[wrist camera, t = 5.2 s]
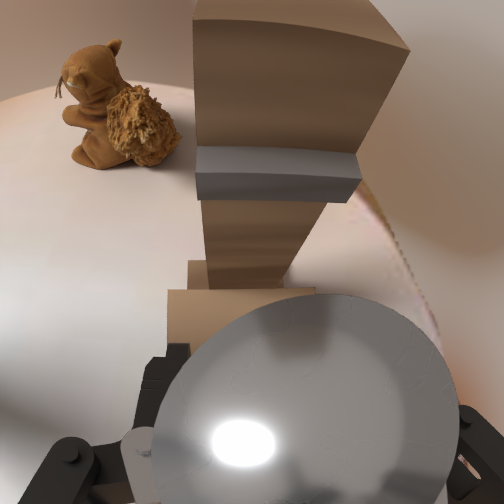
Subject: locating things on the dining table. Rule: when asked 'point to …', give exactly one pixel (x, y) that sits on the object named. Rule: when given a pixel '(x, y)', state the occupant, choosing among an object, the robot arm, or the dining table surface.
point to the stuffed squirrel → (113, 112)
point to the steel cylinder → (309, 410)
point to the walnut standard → (274, 141)
